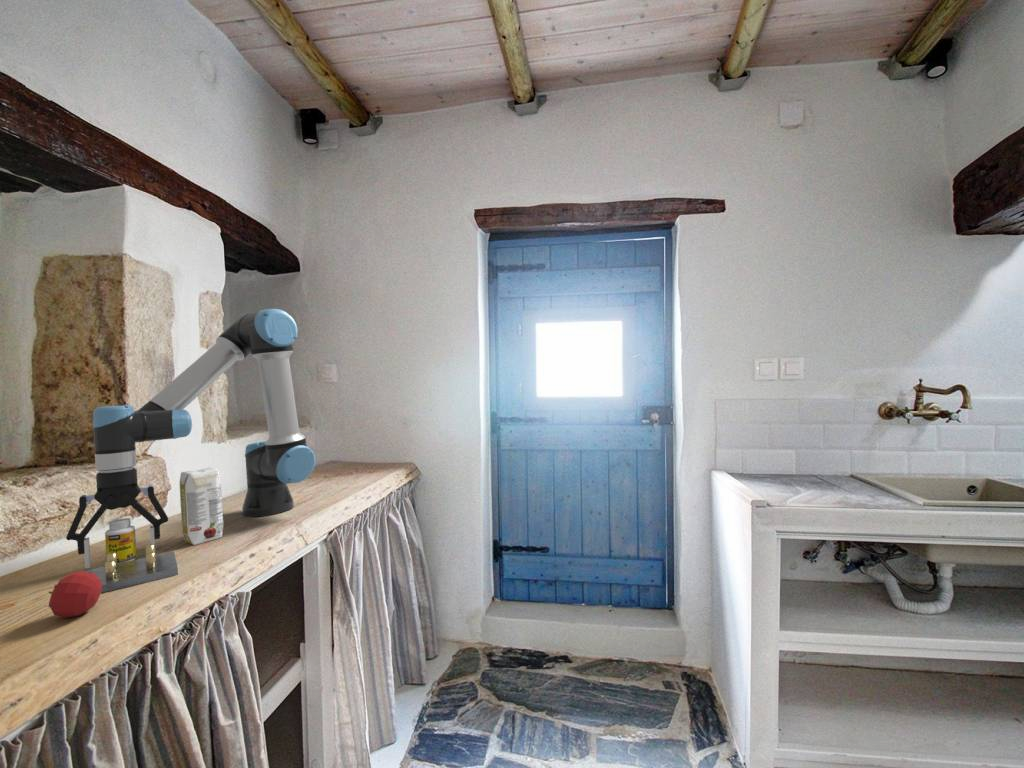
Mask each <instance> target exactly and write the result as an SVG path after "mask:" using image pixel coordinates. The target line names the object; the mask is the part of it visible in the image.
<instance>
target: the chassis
mask: <svg viewBox="0 0 1024 768" xmlns="http://www.w3.org/2000/svg"><path fill="white" fill-rule="evenodd" d="M144 549H145V557H142V558H136V559H135V560H132V561H128V562H123V563H118V564H117V560H116V552H113V553H109V554H107V560H106V561H105V562H104V566H101V567H97V568H93V569H92V568H91V569H87V570H85V572H89V573H94V574H96V575H97V576H98V577H99V579H100V580H101V582H102V590H101V594H102V593H103V594H104V593H107V592H111V591H114V590H115V591H116V590H118V589H124V588H128V587H132V586H135V585H140V584H144V583H148V582H151V581H152V582H153V581H156V580H157V581H158V580H161V579H165V578H169V577H173V576H176V575H179V570H178V569H179V568H178V563H177V559H176V554H175V551H170V552H166V553H160V554H156V551H155V552H154V545H153V544H152V545H151V544H148V545H145V548H144Z"/></svg>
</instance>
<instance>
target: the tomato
mask: <svg viewBox="0 0 1024 768" xmlns="http://www.w3.org/2000/svg"><path fill="white" fill-rule="evenodd" d="M101 590H102V582H101V580H100V579H99V577H98V576H97V575H96V574H94V573H89V572H86V571H82V570H79V571H75V572H71V573H69V574H67V575H66V576H64V577H63V578H62V579H60V580H59V581H58V582H57V583H56V584H54V588H53V590H52V591H48V594H50V598H49V602H48V607H49V609H50V610H51V612H52V613H53V615H54V616H57V617H61V618H64V619H65V618H67V619H69V618H73V617H80V616H81V615H83V614H85V613H86V612H88V611H89V610H90V609H92V608H94V607H95V605H97V602H98V600H99V598H100V597H101V594H102V593H101Z"/></svg>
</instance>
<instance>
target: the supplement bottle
mask: <svg viewBox="0 0 1024 768" xmlns="http://www.w3.org/2000/svg"><path fill="white" fill-rule="evenodd" d="M104 534H105V535H104V537H105V555H106V556H105V559H106V561H107V554H109V553H113V552H116V560H117V564H118V563H123V562H128V561H132V560H137V544H136V541H137V540H136V528H135V526H134V525H132V522H131V518H129V517H127V518H126V517H124V518H123V517H122V518H117V519H113V520H110V521H109V523H108V529H107V530H106V531H105V533H104Z"/></svg>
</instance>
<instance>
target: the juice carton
mask: <svg viewBox="0 0 1024 768" xmlns="http://www.w3.org/2000/svg"><path fill="white" fill-rule="evenodd" d="M222 495H223V494H222V478H221V475H220V470H219V469H218V468H215V467H207V468H206V467H205V468H201V469H197V470H189V471H181V472H180V476H179V496H180V497H179V498H180V499H179V500H180V501H179V502H180V516H181V517H180V519H181V531H182V536H183V539H184V541H185V543H188V544H191V545H193V546H195V545H199V544H204V543H207V542H210V541H214V540H217V539H221V538H223V531H224V513H223V512H224V511H223V510H224V509H223V496H222Z"/></svg>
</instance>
